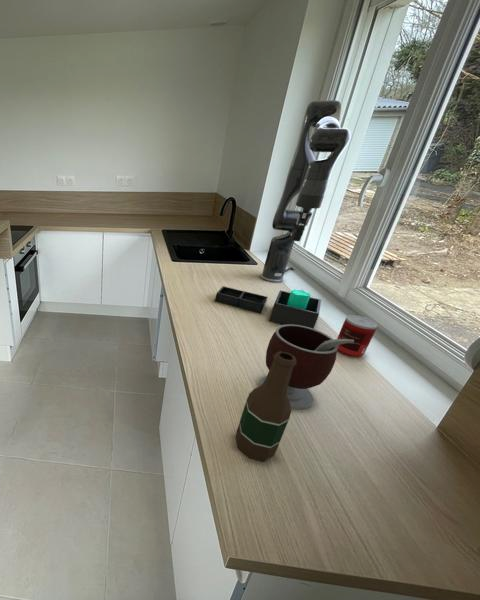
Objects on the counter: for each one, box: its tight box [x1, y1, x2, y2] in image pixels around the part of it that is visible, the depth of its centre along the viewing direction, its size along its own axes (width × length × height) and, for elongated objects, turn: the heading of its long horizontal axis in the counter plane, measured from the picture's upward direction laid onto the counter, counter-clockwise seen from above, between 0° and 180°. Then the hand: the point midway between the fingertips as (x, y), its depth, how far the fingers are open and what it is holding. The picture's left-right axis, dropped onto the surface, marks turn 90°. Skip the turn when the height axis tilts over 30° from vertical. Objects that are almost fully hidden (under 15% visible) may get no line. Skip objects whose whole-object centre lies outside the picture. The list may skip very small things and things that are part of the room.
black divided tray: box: [214, 285, 268, 315], centre depth 132 cm, size 9×18×4 cm, turn 53°
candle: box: [287, 288, 312, 310], centre depth 119 cm, size 6×6×12 cm
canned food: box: [336, 314, 379, 358], centre depth 101 cm, size 8×8×11 cm
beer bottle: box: [235, 351, 297, 463], centre depth 64 cm, size 8×8×24 cm
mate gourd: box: [258, 324, 354, 410], centre depth 80 cm, size 16×14×20 cm
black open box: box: [268, 290, 322, 329], centre depth 120 cm, size 15×14×8 cm
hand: (297, 238), depth 119 cm, fingers open, 8 cm apart
